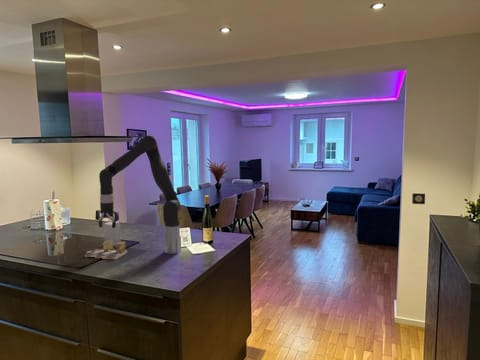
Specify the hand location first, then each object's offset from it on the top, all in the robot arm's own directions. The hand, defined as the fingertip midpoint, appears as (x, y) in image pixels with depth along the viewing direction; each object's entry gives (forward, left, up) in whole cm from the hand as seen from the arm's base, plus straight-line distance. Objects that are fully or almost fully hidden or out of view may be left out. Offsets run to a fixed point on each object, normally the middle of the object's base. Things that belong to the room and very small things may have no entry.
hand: (107, 227), depth 193 cm
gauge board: (0, +2, -17) cm, 17 cm away
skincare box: (+7, -16, -17) cm, 24 cm away
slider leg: (0, +2, -15) cm, 15 cm away
